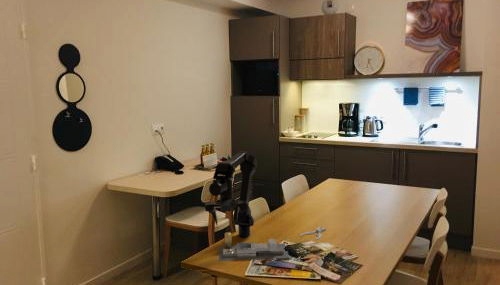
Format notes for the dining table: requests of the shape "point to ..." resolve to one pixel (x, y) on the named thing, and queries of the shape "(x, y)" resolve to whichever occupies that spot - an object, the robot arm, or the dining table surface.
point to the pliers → (315, 232)
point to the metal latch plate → (256, 247)
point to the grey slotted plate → (247, 255)
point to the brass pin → (227, 240)
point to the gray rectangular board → (253, 257)
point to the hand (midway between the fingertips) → (227, 224)
